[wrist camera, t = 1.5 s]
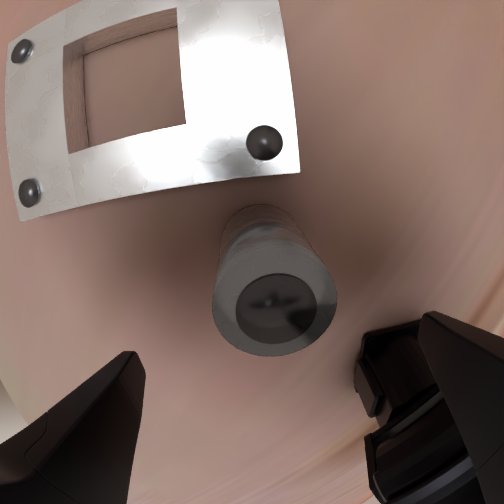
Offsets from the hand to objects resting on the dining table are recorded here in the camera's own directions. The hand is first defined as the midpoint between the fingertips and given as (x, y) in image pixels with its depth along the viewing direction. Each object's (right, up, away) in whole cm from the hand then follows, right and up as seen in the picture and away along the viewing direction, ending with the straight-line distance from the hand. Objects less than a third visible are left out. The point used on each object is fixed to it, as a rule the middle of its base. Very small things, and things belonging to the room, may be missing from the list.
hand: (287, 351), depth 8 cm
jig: (-8, +12, +5) cm, 15 cm away
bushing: (-1, +3, +8) cm, 9 cm away
